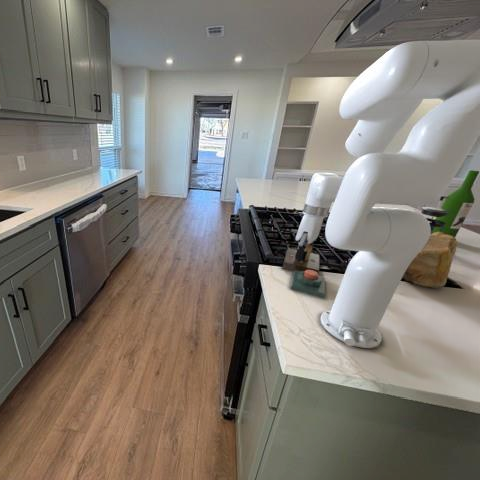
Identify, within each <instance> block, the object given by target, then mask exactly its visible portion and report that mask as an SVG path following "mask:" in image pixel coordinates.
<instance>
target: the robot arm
mask: <svg viewBox="0 0 480 480" xmlns="http://www.w3.org/2000/svg"><path fill="white" fill-rule="evenodd" d="M423 100H441V102H440V103H439V104H437V105H436V106H434V107H433V108H432V109H430V110H429V111H428V112H427V113H425V114H424V115H423V116H422V117H421V118H420V119H419V120H417V122H416V123H415V124H414V125H413V126H412V128H411V130H410V131H409V134H408V135H407V139H406V141H405V143H404V145H403V146H402V148H401V149H400V150H399V151H398V152H385V151H386V149H387V148H388V147H389V145H391V143H392V141H393V140H394V139H395V138H396V136H397V135H398V134H399V132H400V131H401V130H402V128H403V127H404V126H405V124H406V123H407V122H408V121H409V120H410V118H411V117H412V116H413V114H414V113H415V112H416V110H417V109H418V108H419V106H420V105H421V104H422V103H423ZM339 116H340V117H341V119H343V120H347V121H357V122H356V125H355V126H354V128H353V129H352V131H351V133H350V134H349V136H348V137H347V139H346V141H345V144H344V145H345V146H344V147H345V149H346V151H347V152H348V153H349V154H350V155H352V156H353V157H354V158H356V160H355V161H354V162H352V164H351V165H350V166H349V167H348V169H347V170H346V171H345V174H344V176H339V175H337V174H336V173H331V172H315V173H314V174H313V175H312V177H311V179H310V184H309V186H308V191H307V195H306V198H305V202H304V204H303V209H302V215H303V216H302V218H301V221H300V224H299V227H298V230H297V233H296V236H295V242H298V241H299V242H298V246H297V249H296V250H297V252H296V256H295V259H298V260H301V261H305V258H306V255H307V248H308V245H311V246H312V247H314V243H315V241H316V240H317V239H318V237H319V235H320V233H321V229H322V226H323V222H324V219H325V218H327V221H326V225H325V229H324V230H325V232H324V235H325V239H326V242H327V243H328V244H329V245H330V246H331V247H333V248H335V249H338V250H344V251H352V252H353V251H354V252H356V253H355V254H354V255H353V256H352V258H351V259H350V260H349V262H348V264H347V266H346V269H345V272H344V275H343V277H342V279H341V282H340V285H339V288H338V290H337V292H336V295H335V299H334V301H333V304H332V307H331V309H326V310H325V311H323V312H322V313H321V316H320V323H321V326H322V327H323V328H324V329H325V330H326V331H327V332H328V333H329V334H330V335H331V336H332V337H335V339H337V340H340V341H341V342H344V344H345V345H346V346H349V347H353V346H354V347H358V348H362V349H363V348H364V349H372V348H377V347H378V346H380V344H381V343H382V333H381V331H379V329H378V328H379V325H380V323H381V321H382V319H383V317H384V315H385V313H386V311H387V309H388V307H389V305H390V303H391V301H392V299H393V297H394V295H395V293H396V290H397V288H398V287H399V285H400V283H401V280H402V279H403V275H404V273H405V271H406V269H407V268H408V266H409V265H410V263H411V262H412V260H413V259H414V258H415V257H416V256H417V254H418V253H419V252H420V251H421V250H422V249H423V247H424V246H425V245H426V243H427V241H428V239H429V237H430V233H431V228H430V224H429V223H430V221H428V220H427V219H426V218H427V217H425V216H424V214H422V213H419V212H417V211H415V210H412V209H411V210H410V209H405V208H397V207H381V206H380V207H379V206H375V205H390V206H391V205H393V206H426V205H430V204H434V203H435V202H437V201H438V200H440V198H441V196H442V195H443V196H444V193H445V192H446V191H447V189H448V188H449V186H450V185H451V184H452V182H453V180H454V178H455V177H456V176H457V174H458V172H459V171H460V169H461V167H462V165H463V164H464V162H465V160H466V159H467V157H468V156H469V154H470V152H471V150H472V149H473V147H474V145H475V144H476V142H477V140H478V138H479V137H480V39H453V40H412V41H407V42H403V43H400V44H397V45H396V46H394V47H392V48H390V49H389V50H387V52H385V53H384V54H383V55H382V56H381V57H379V58H378V59H377V60H376V61H374V63H372V64H371V65H370V66H368V67H367V68H366V69H365V70H364V71H363V72H361V73H360V74H359V75H358V76H357V77H356V78H355V79H354V81H352V83H351V84H350V85H349V87H348V88H347V89H346V91H345V92H344V94H343V96H342V98H341V101H340V103H339ZM332 203H333V204H332ZM331 206H332V207H331ZM330 209H331V210H330ZM304 244H306V247H305V245H304Z"/></svg>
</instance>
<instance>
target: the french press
mask: <svg viewBox="0 0 480 480" xmlns="http://www.w3.org/2000/svg"><path fill="white" fill-rule="evenodd" d="M446 198H450V197H448V195H444V194H443V195H442V196H441V197H440V198H439V202H438V205H437V207H430V206H422V207H421V209H422V210H421V212H420V214H421V215H425V216H428V217H425V218H426V219H427V220H428V222H429V224H430V228H431V233H430V234H433V233H434V232H432V231H433V229H434V227H442V228H441V230H440V232H442V230H443V228H444V226H445V224H446V223H445V222H443V221H439V220H436V217H442V216H444V215H448V214H451V212H450V211H447V210H443V209H441V208H439V207H440V205H441V203H442V201H443V202H444V200H445V199H446ZM429 217H430V218H429ZM434 218H435V219H434ZM436 223H438V224H436Z"/></svg>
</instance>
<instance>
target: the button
mask: <svg viewBox="0 0 480 480" xmlns="http://www.w3.org/2000/svg"><path fill="white" fill-rule="evenodd" d="M318 275H319V272H318V273H317V272H315V271H313V270H305V273H304V277H306V278H308V279H311V280H316V279H317V276H318Z"/></svg>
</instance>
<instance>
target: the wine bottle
mask: <svg viewBox="0 0 480 480" xmlns="http://www.w3.org/2000/svg"><path fill="white" fill-rule="evenodd" d="M479 173H480V170H473V169H472V170H471V169H470V170H469V171H468V173H467V175H466V177H465V178H464V180H463V182H462V184H461V185H460V187H459V188H458V189H456V190H454V191H453V192H451V193H450V194H448V195H447V196H448V197H450V198H444V199H443V202H442V205H441V206H440V209H443V210H447V211H450V212H451V214H448V215H444V216H442V217H435V219H436V220H439V221H443V222H445V223H446V224H445V226H444V228H443V230H442V233H444V234H445V235H451V236H453V237H454V238H455V239H456V237H457V235H458V233H459V231H460V229H461V228H462V225H464V222H465V220H466V218H467V216H468V215H469V213H470V211H471V209H472V208H473V205H474V204H475V200H476V199H475V197H474V193H473V190H472V188H473V186H474V183H475V182H476V180H477V178H478V175H479ZM436 224H438V223H436ZM441 228H442V227H434V229H433V231H432V232H434V233H435V232H440V230H441Z"/></svg>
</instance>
